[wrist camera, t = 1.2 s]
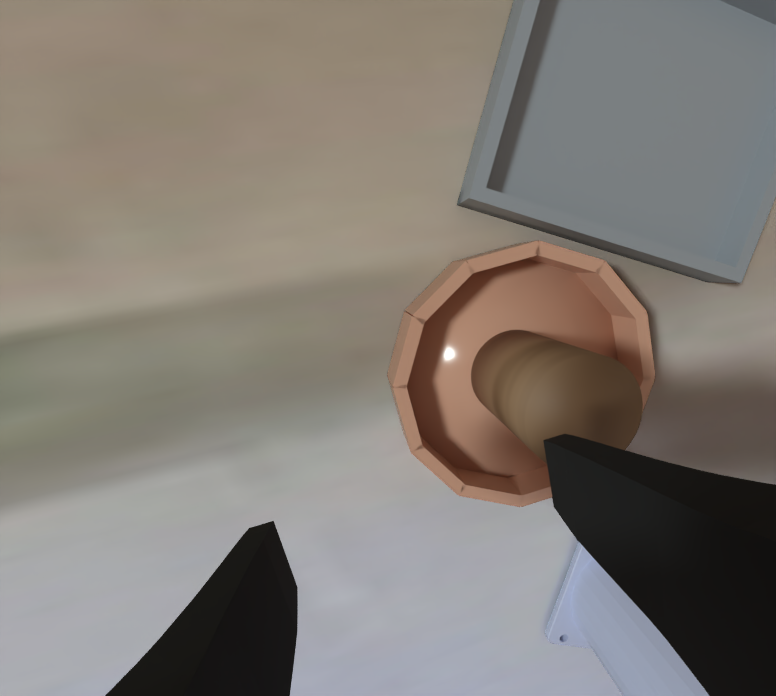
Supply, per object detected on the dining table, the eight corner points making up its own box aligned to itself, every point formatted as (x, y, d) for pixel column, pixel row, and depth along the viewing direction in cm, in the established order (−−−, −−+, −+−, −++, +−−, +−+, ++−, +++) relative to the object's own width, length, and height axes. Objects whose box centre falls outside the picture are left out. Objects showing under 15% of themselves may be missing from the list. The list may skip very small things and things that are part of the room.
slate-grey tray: (802, 34, 19) (849, 10, 17) (707, 282, 21) (741, 283, 19) (537, -84, 17) (559, -125, 15) (456, 204, 19) (468, 198, 17)
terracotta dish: (653, 284, 20) (690, 286, 18) (576, 498, 22) (601, 522, 20) (429, 217, 19) (440, 210, 16) (364, 457, 20) (367, 478, 18)
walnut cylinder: (566, 341, 20) (660, 370, 14) (539, 422, 21) (617, 482, 15) (486, 320, 19) (548, 341, 13) (460, 404, 20) (509, 460, 14)
